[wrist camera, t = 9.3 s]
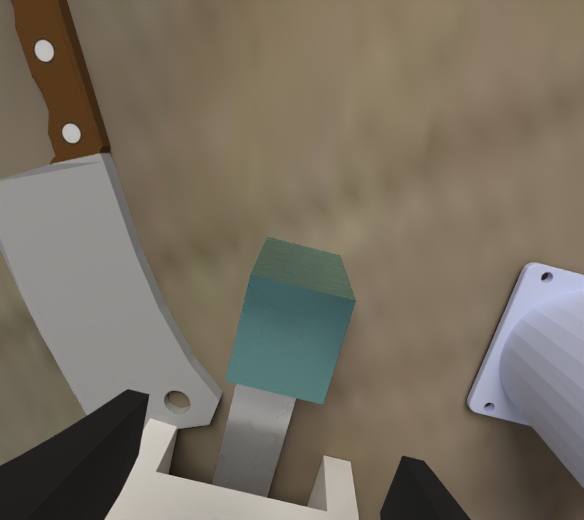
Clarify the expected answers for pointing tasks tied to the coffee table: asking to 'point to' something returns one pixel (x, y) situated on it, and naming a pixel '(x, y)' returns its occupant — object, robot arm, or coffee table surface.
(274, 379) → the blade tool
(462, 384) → the coffee table surface
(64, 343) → the kitchen cleaver
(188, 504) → the cream shelf
